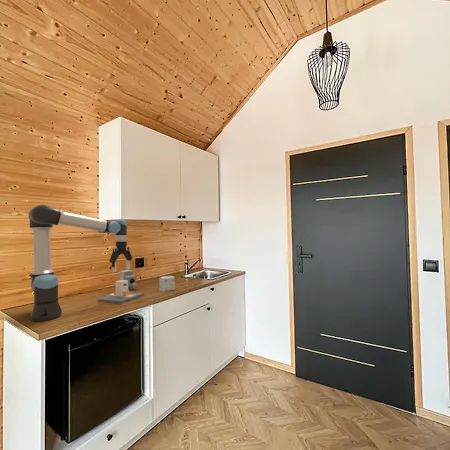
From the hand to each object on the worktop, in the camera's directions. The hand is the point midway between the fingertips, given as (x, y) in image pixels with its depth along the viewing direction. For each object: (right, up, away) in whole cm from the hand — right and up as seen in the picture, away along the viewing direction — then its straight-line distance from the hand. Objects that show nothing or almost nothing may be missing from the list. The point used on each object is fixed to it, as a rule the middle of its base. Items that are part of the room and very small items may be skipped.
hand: (121, 270), depth 197 cm
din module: (0, -18, 0) cm, 18 cm away
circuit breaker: (-5, -20, +28) cm, 35 cm away
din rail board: (0, -20, 0) cm, 20 cm away
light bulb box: (+28, -20, +23) cm, 42 cm away
